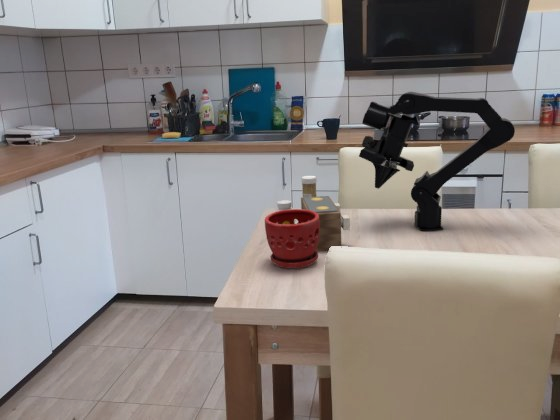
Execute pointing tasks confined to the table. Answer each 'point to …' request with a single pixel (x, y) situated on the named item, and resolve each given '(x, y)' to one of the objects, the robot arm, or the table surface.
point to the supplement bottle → (284, 208)
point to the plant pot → (293, 237)
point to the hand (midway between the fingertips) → (376, 188)
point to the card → (320, 204)
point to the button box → (327, 228)
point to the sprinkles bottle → (309, 186)
